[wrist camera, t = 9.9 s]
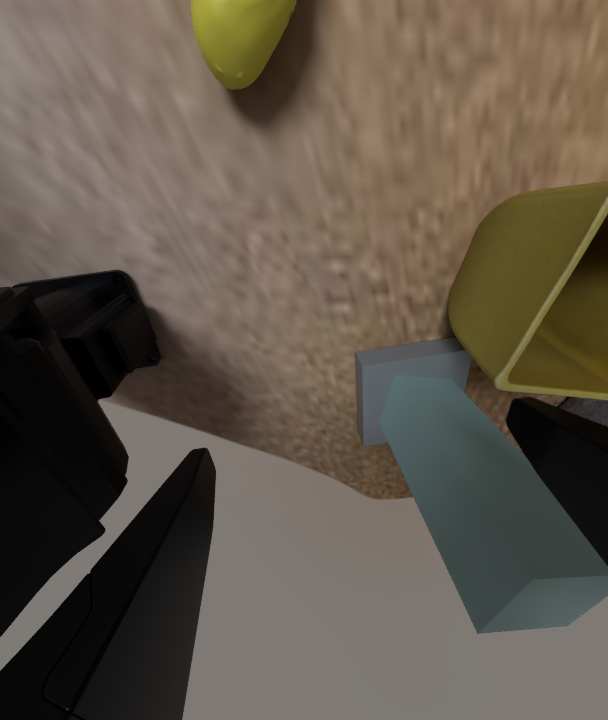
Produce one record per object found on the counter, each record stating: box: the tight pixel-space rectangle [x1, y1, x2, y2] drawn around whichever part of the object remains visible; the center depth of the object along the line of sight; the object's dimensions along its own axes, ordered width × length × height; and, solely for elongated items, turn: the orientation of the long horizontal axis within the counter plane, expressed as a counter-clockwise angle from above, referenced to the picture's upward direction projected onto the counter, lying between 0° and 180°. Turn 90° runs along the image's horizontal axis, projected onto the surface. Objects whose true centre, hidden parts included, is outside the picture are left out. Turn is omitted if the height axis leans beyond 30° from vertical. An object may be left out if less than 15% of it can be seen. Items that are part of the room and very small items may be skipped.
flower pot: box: [448, 182, 608, 400], centre depth 17 cm, size 9×9×9 cm
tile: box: [355, 337, 472, 447], centre depth 24 cm, size 8×8×2 cm
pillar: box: [379, 375, 608, 633], centre depth 17 cm, size 4×4×13 cm
